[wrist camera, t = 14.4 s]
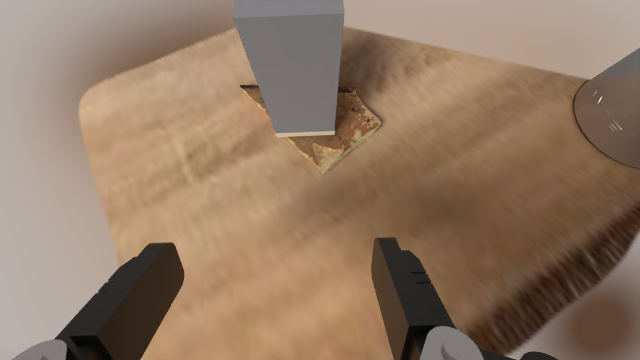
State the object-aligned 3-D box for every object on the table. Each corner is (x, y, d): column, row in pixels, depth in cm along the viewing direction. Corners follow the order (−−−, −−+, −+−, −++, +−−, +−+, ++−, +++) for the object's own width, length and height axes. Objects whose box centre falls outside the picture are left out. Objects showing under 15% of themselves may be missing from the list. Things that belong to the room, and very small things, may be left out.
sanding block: (331, 86, 21) (338, -60, 11) (334, 134, 19) (345, 13, 10) (277, 88, 21) (238, -56, 11) (276, 137, 19) (231, 18, 10)
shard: (243, 96, 23) (237, 82, 21) (306, 53, 24) (306, 38, 23) (320, 180, 20) (321, 173, 18) (385, 127, 22) (391, 115, 20)
